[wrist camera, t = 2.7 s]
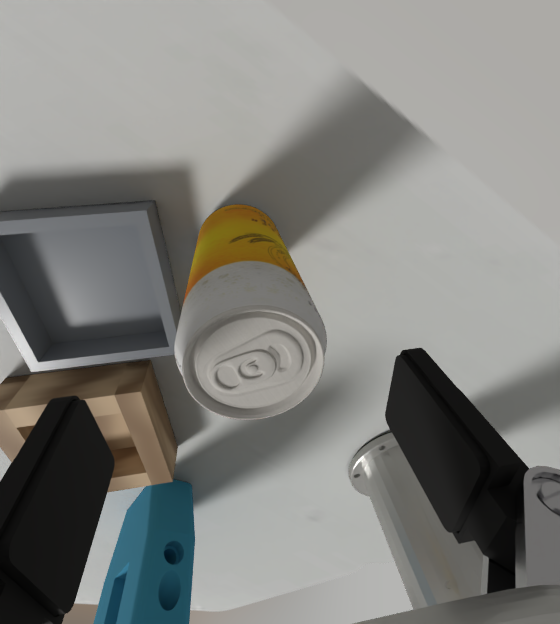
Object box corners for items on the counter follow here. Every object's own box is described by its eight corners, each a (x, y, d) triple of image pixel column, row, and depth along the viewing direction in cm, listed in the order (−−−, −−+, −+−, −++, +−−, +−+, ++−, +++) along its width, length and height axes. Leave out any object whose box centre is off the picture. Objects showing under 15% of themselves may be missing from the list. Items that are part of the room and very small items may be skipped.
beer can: (288, 263, 26) (349, 396, 13) (218, 289, 27) (214, 445, 14) (262, 189, 23) (310, 271, 10) (184, 219, 23) (135, 337, 11)
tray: (155, 200, 22) (146, 210, 20) (185, 332, 28) (181, 353, 26) (-19, 212, 21) (-52, 225, 19) (49, 348, 27) (31, 372, 24)
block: (162, 465, 36) (107, 770, 19) (202, 476, 38) (185, 761, 21) (118, 521, 40) (40, 815, 23) (156, 529, 42) (110, 804, 25)
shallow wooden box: (150, 360, 29) (140, 391, 26) (177, 446, 35) (172, 481, 32) (5, 377, 28) (-25, 413, 24) (60, 464, 34) (42, 503, 30)
